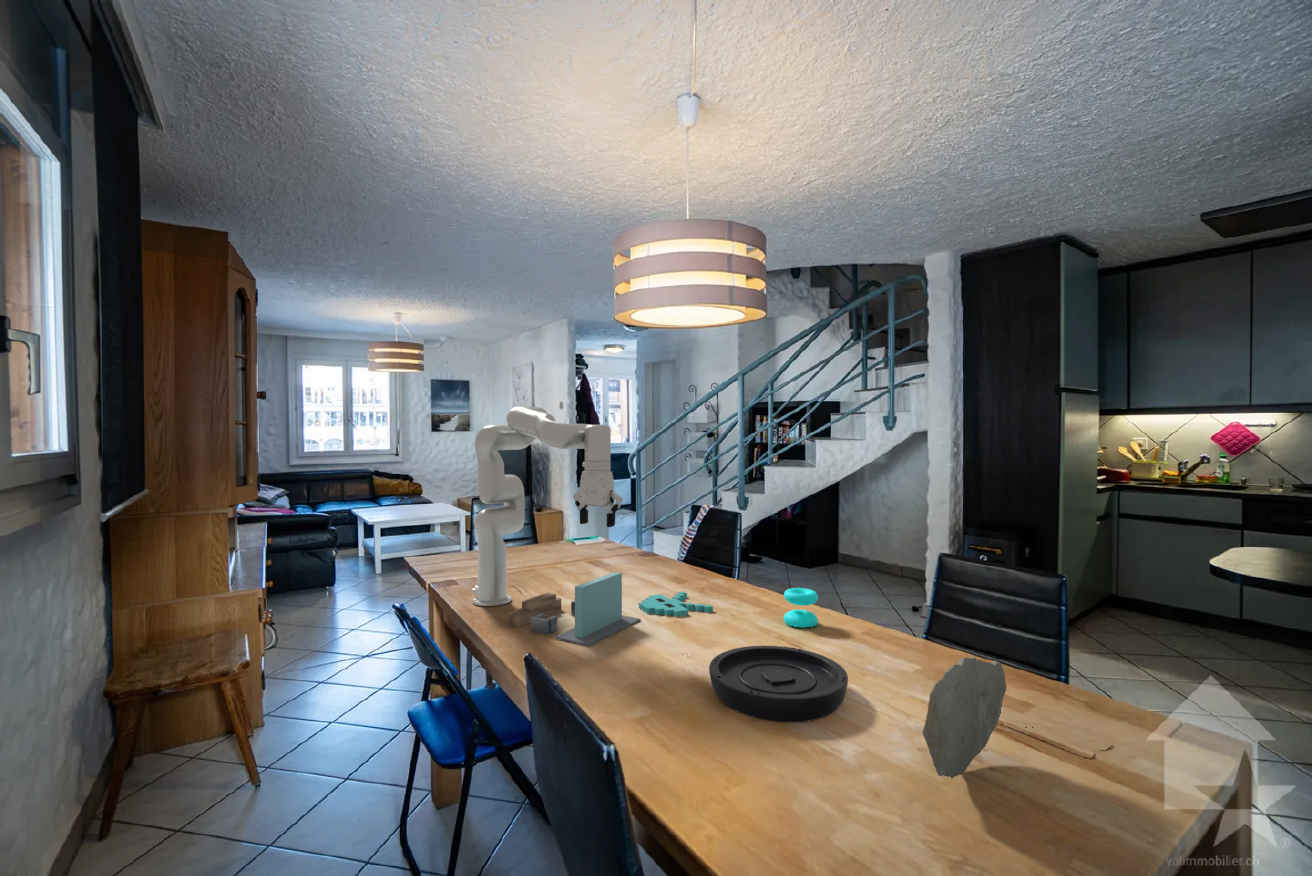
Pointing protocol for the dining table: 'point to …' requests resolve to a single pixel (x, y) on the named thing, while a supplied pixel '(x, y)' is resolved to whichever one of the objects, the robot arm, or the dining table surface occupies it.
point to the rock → (963, 713)
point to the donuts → (801, 598)
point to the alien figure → (671, 605)
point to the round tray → (778, 683)
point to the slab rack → (547, 622)
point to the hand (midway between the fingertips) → (597, 525)
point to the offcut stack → (535, 609)
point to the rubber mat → (598, 632)
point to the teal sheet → (598, 604)
